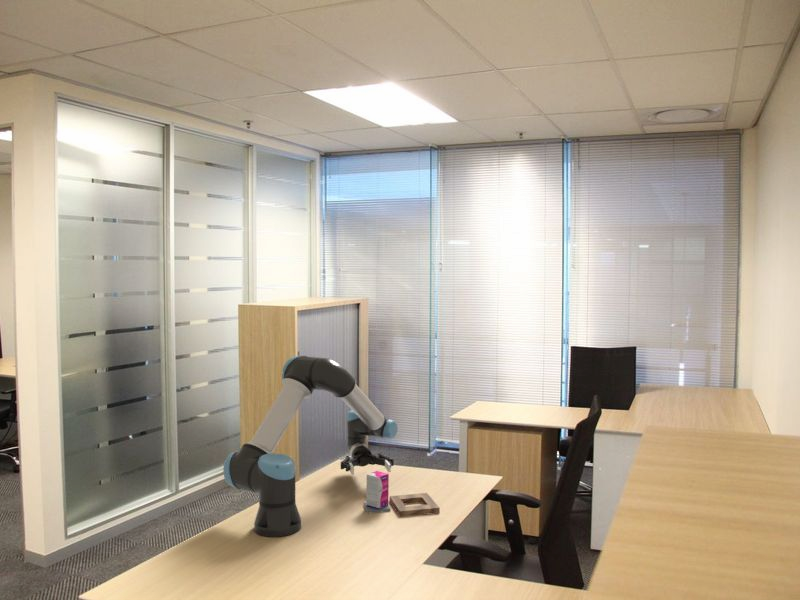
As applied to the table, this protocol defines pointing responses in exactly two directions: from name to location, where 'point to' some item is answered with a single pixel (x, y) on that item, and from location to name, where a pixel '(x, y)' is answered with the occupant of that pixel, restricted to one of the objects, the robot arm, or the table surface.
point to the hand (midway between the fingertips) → (371, 469)
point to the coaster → (376, 509)
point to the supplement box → (377, 490)
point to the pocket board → (414, 510)
